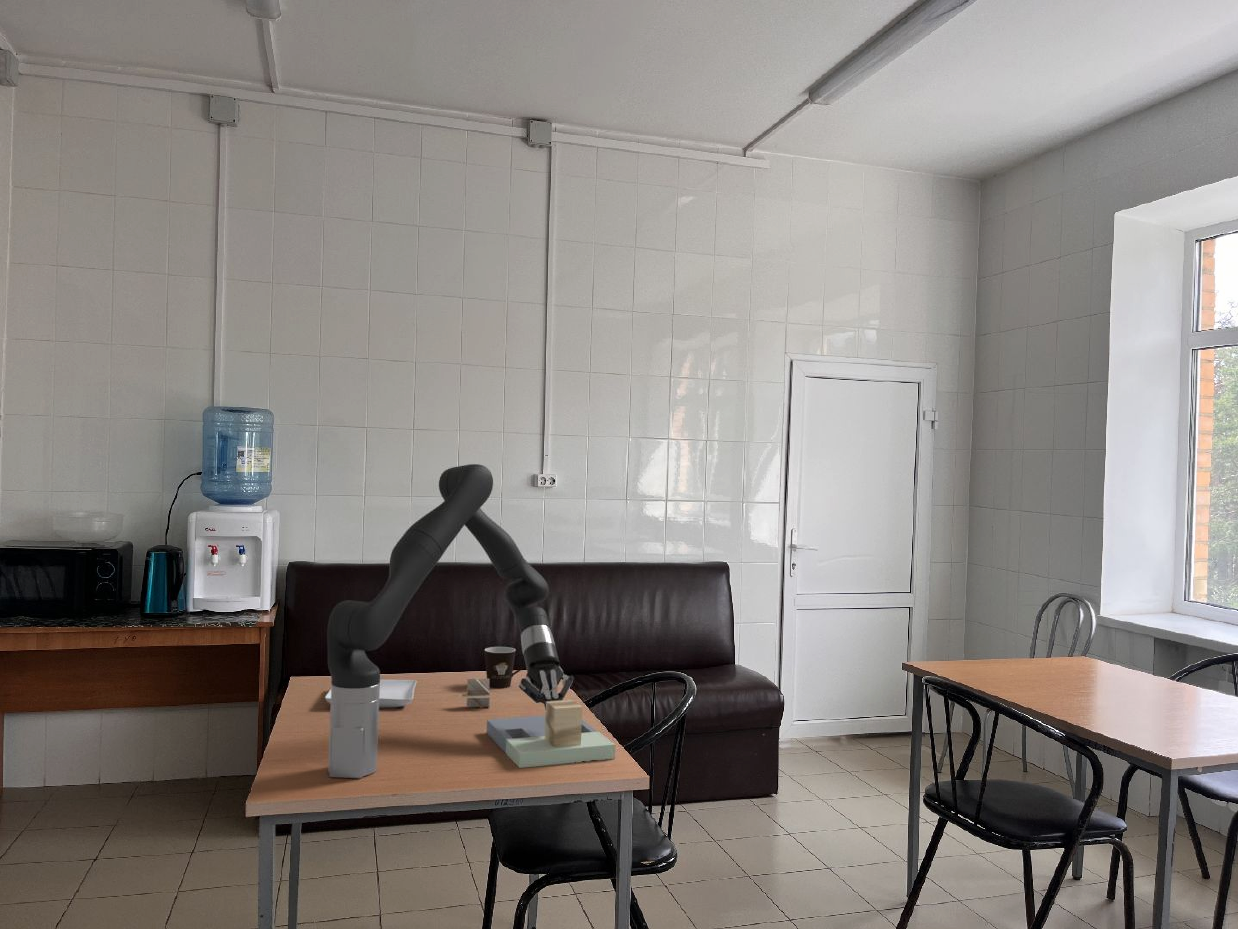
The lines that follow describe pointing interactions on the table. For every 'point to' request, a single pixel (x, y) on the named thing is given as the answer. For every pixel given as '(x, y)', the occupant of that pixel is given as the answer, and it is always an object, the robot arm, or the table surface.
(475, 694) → the architectural model
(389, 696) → the salad plate
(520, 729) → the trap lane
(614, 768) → the table surface
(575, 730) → the birch block
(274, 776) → the table surface
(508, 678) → the coffee mug
